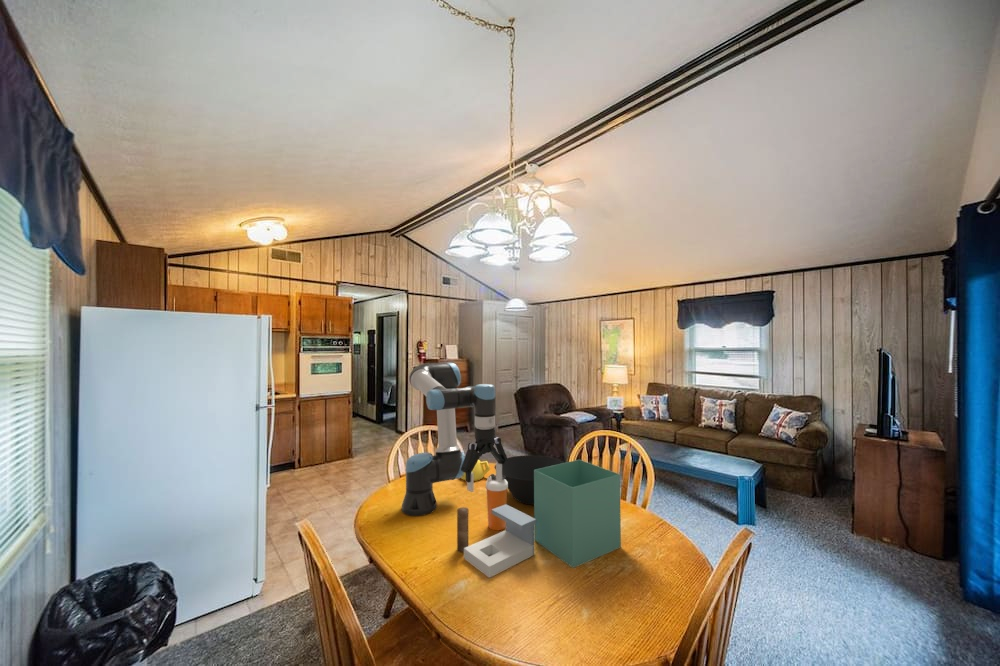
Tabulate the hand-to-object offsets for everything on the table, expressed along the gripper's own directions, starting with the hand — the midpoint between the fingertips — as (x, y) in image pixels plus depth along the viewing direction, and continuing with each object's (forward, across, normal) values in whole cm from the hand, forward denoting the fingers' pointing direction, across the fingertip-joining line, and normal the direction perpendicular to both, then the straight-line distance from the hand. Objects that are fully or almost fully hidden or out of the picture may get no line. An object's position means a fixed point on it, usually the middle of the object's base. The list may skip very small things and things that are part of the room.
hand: (485, 485), depth 137 cm
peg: (+22, -7, +4) cm, 23 cm away
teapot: (+22, +38, +57) cm, 72 cm away
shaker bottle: (+22, +13, +8) cm, 27 cm away
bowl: (+22, +43, +17) cm, 51 cm away
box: (+22, +26, -22) cm, 40 cm away
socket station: (+22, -1, -8) cm, 23 cm away
